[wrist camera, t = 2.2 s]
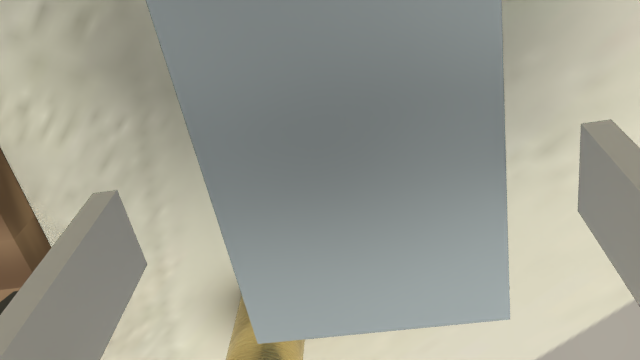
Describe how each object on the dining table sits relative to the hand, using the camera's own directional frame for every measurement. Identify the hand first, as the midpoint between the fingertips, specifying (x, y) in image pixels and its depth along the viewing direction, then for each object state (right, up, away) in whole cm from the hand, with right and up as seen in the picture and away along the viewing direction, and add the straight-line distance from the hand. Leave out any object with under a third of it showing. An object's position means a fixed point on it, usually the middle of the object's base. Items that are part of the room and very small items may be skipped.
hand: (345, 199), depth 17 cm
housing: (+1, +5, +8) cm, 9 cm away
